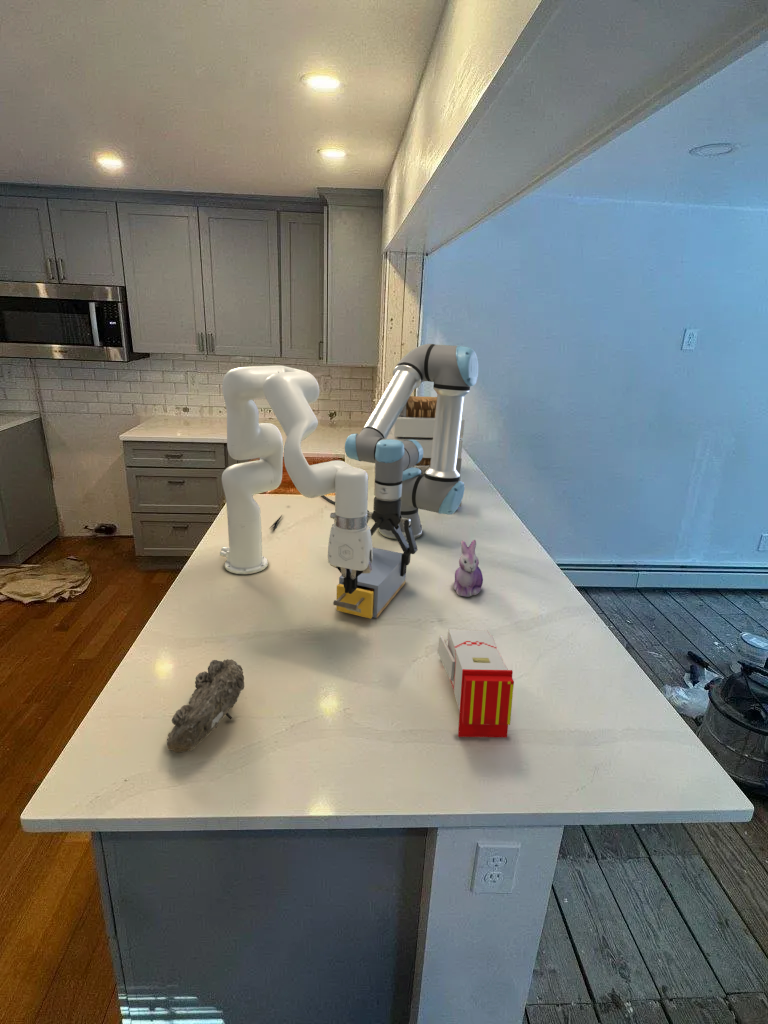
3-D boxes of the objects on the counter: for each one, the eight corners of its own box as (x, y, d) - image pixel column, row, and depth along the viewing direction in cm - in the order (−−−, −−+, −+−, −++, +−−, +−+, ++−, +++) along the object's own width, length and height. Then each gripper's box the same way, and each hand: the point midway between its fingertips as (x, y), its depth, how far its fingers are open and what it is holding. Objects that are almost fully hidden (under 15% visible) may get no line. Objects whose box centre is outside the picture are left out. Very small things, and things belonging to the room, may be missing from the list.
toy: (488, 613, 130) (523, 677, 101) (484, 667, 133) (517, 744, 104) (435, 612, 130) (455, 676, 101) (432, 666, 133) (451, 743, 103)
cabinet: (376, 618, 145) (378, 586, 142) (338, 608, 149) (339, 577, 146) (405, 583, 164) (407, 554, 161) (370, 575, 168) (371, 547, 165)
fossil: (192, 660, 117) (244, 628, 112) (224, 691, 120) (276, 661, 115) (142, 746, 98) (202, 712, 93) (182, 779, 101) (242, 748, 96)
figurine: (464, 601, 155) (469, 550, 150) (443, 585, 164) (448, 537, 159) (492, 594, 159) (497, 545, 154) (470, 579, 168) (475, 532, 163)
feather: (289, 509, 222) (291, 505, 221) (271, 533, 195) (274, 529, 195) (285, 506, 222) (288, 503, 221) (267, 531, 195) (270, 526, 195)
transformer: (382, 463, 289) (386, 382, 275) (445, 464, 293) (451, 384, 279) (390, 482, 257) (394, 392, 243) (460, 483, 261) (468, 394, 247)
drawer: (361, 629, 138) (362, 603, 135) (326, 620, 141) (326, 595, 139) (398, 585, 161) (400, 562, 158) (367, 578, 164) (368, 555, 161)
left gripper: (315, 520, 132) (316, 591, 138) (374, 530, 127) (372, 603, 133) (329, 511, 138) (330, 579, 144) (386, 520, 133) (384, 590, 139)
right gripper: (342, 494, 155) (341, 567, 162) (424, 508, 147) (418, 584, 154) (354, 487, 161) (352, 557, 169) (432, 499, 154) (427, 573, 161)
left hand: (350, 590), depth 138 cm, fingers closed
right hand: (384, 570), depth 162 cm, fingers closed on cabinet, 11 cm apart
